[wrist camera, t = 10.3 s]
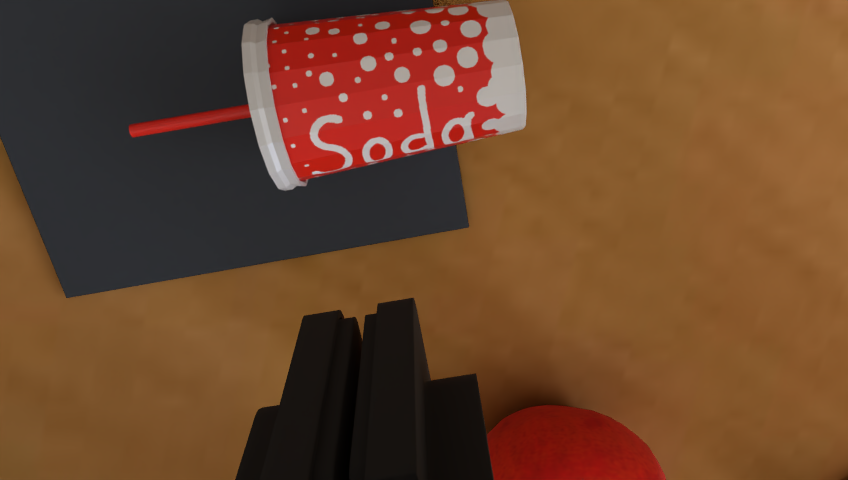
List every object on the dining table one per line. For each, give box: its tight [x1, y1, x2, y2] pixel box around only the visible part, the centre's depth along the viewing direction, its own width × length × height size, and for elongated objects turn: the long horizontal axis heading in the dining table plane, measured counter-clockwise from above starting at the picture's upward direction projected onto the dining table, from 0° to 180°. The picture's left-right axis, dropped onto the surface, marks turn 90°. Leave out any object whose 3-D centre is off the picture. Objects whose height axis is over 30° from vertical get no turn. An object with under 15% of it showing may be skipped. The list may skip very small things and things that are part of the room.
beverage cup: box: [129, 0, 527, 191], centre depth 27 cm, size 6×6×14 cm
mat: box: [0, 0, 469, 298], centre depth 30 cm, size 18×14×1 cm
